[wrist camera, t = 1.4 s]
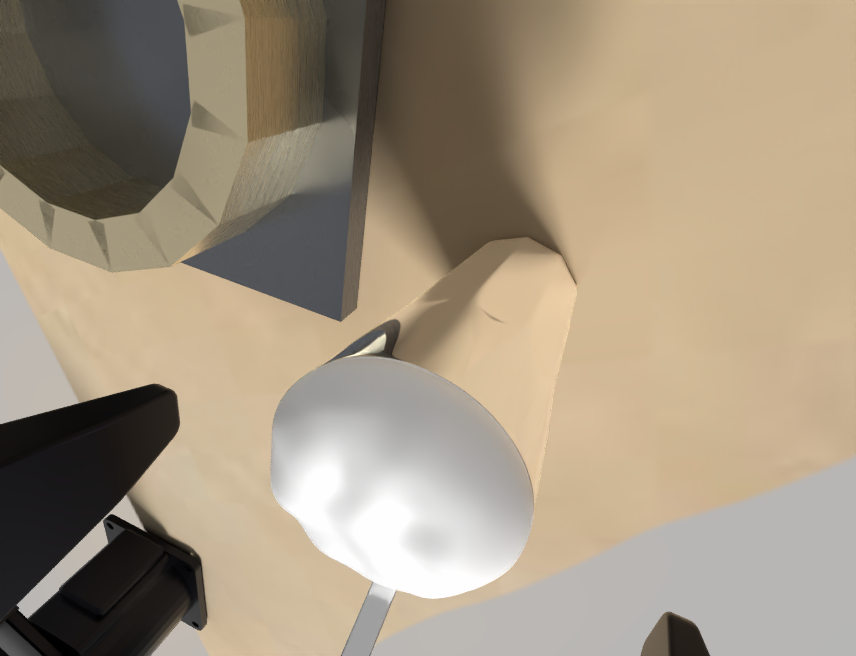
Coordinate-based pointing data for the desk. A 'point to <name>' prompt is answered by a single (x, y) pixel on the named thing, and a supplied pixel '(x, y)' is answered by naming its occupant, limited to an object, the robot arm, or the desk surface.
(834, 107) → the desk surface
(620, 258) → the desk surface
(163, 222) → the collar station
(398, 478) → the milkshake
